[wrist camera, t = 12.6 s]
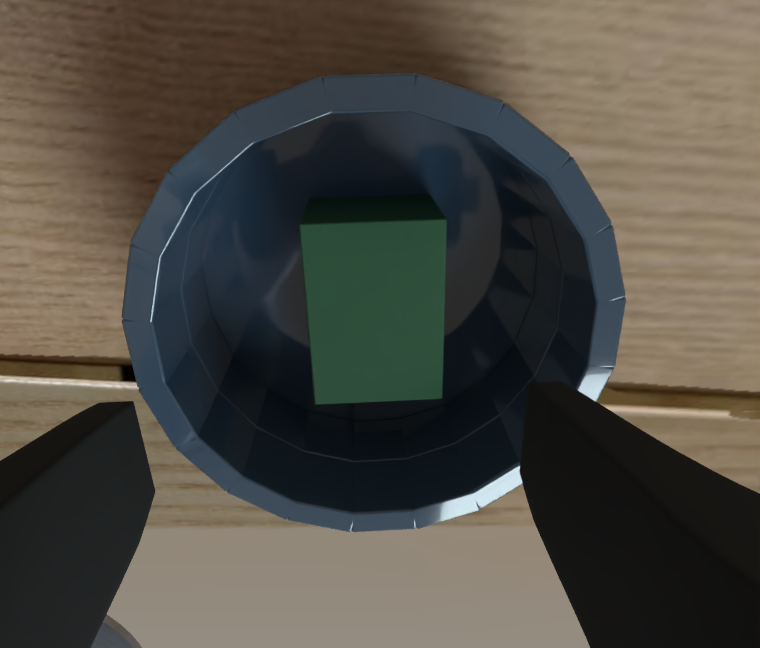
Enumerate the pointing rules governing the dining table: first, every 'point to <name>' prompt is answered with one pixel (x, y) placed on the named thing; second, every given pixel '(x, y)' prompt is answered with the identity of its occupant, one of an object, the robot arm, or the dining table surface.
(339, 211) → the green rectangular block
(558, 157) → the basin
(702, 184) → the dining table surface
